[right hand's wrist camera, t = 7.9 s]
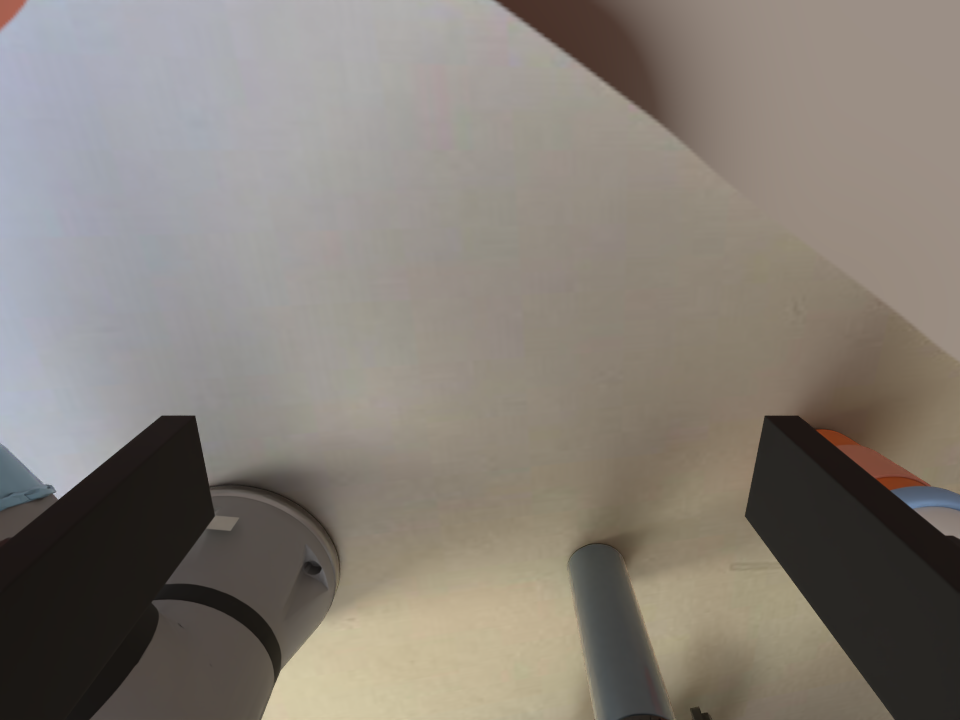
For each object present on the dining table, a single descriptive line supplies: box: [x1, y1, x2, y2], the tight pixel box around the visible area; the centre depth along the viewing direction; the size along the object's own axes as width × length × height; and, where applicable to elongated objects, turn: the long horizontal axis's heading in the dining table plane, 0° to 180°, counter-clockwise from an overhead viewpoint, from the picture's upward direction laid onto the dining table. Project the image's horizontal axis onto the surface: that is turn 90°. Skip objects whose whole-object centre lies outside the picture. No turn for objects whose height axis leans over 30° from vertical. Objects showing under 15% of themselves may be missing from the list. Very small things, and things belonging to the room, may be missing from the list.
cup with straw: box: [816, 429, 960, 539], centre depth 33 cm, size 9×9×18 cm
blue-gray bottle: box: [567, 544, 676, 720], centre depth 38 cm, size 5×5×16 cm
